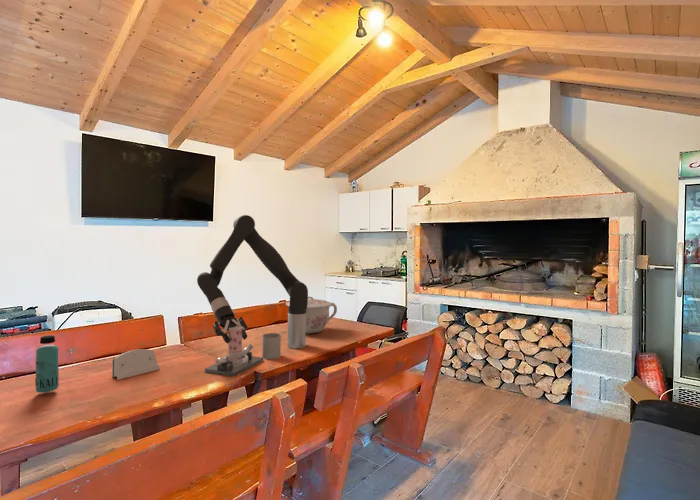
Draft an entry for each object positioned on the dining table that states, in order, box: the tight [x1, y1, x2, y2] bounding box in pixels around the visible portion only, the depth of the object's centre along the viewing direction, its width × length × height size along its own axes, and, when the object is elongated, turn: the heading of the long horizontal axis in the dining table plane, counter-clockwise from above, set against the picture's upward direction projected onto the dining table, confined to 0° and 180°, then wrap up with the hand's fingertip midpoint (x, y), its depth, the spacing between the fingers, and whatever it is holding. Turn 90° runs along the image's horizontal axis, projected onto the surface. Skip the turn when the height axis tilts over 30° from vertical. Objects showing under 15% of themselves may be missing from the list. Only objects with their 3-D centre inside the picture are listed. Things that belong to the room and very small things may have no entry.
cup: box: [261, 332, 282, 360], centre depth 184 cm, size 8×8×10 cm
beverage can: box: [227, 325, 243, 360], centre depth 169 cm, size 6×6×15 cm
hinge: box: [111, 348, 160, 380], centre depth 159 cm, size 17×5×10 cm, turn 142°
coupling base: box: [204, 343, 264, 377], centre depth 169 cm, size 24×14×7 cm, turn 161°
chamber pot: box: [285, 296, 338, 335], centre depth 235 cm, size 28×28×21 cm
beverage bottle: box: [34, 335, 60, 394], centre depth 136 cm, size 6×7×20 cm
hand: (237, 340), depth 168 cm, fingers open, 8 cm apart
